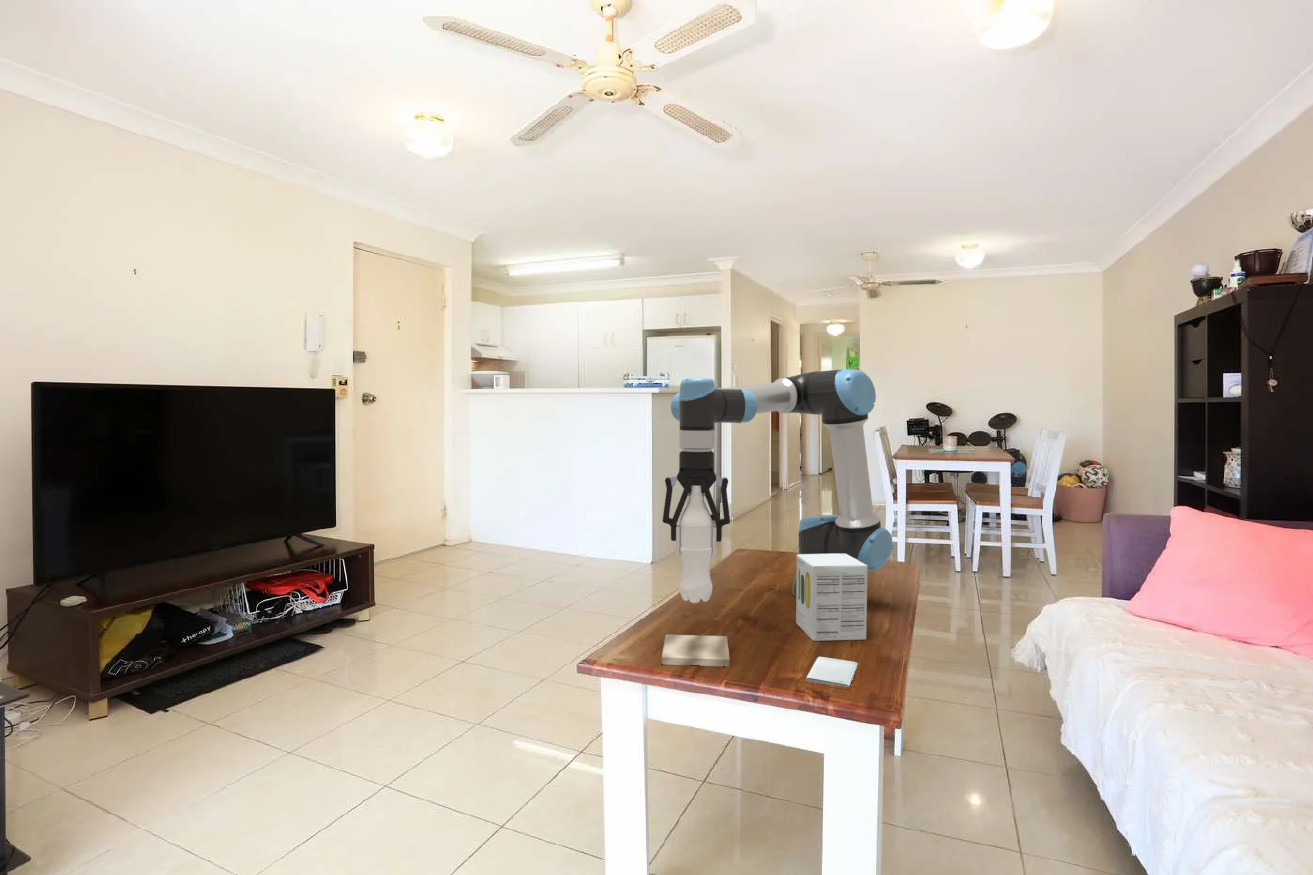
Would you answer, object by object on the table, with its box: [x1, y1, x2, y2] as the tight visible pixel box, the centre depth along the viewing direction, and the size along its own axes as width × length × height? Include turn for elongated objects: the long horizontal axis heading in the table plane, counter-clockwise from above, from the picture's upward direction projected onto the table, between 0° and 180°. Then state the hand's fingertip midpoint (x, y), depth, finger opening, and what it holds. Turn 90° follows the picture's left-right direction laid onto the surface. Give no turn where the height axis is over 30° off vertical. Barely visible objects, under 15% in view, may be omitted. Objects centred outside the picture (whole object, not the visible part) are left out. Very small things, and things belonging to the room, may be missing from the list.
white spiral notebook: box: [805, 656, 859, 687], centre depth 128 cm, size 2×8×12 cm
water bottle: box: [678, 485, 714, 604], centre depth 138 cm, size 7×7×25 cm
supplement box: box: [795, 553, 868, 642], centre depth 153 cm, size 13×13×18 cm
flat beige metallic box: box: [661, 634, 731, 668], centre depth 139 cm, size 14×14×2 cm
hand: (696, 555), depth 138 cm, fingers closed on water bottle, 7 cm apart
